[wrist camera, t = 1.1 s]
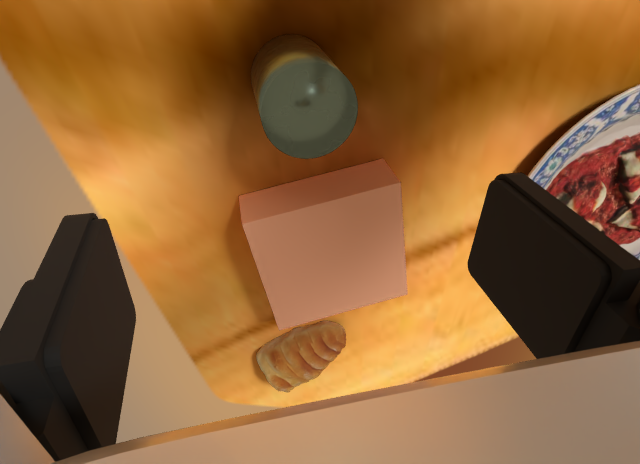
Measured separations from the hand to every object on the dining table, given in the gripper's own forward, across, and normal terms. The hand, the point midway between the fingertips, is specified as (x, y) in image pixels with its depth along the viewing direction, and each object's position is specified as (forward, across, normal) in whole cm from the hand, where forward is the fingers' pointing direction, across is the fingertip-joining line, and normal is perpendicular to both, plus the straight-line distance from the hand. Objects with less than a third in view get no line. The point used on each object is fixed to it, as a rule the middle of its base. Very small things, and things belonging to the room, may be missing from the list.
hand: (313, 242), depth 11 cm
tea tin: (+22, -3, +2) cm, 22 cm away
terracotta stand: (+22, -6, +16) cm, 27 cm away
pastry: (+23, -3, +30) cm, 38 cm away
